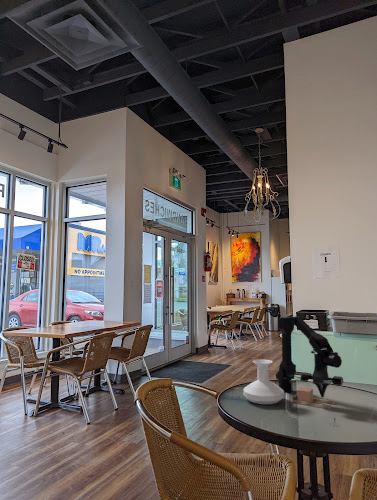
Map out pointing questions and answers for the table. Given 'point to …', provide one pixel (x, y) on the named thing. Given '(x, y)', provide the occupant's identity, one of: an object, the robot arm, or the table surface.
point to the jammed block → (305, 394)
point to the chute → (295, 400)
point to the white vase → (263, 386)
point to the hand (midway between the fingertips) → (322, 397)
